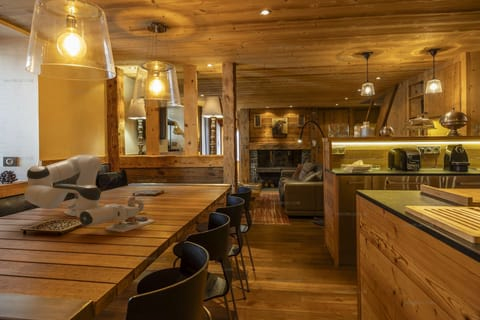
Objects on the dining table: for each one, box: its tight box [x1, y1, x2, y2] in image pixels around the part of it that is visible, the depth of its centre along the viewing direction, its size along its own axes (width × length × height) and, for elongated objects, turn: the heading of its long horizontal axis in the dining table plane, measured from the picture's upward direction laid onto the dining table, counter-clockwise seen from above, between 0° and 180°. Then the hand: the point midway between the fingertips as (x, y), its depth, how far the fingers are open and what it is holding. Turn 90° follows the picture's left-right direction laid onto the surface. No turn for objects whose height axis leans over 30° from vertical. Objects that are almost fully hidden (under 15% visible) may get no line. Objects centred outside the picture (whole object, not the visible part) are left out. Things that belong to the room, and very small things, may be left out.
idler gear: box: [124, 196, 138, 223], centre depth 164 cm, size 7×7×14 cm
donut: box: [135, 197, 145, 213], centre depth 196 cm, size 10×4×10 cm, turn 104°
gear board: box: [105, 215, 156, 233], centre depth 165 cm, size 12×24×4 cm, turn 154°
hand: (132, 207), depth 165 cm, fingers closed on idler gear, 4 cm apart
